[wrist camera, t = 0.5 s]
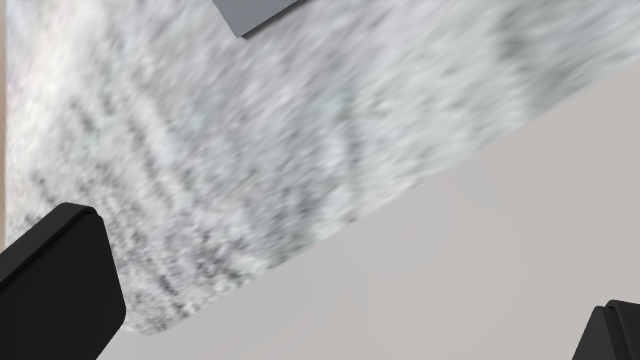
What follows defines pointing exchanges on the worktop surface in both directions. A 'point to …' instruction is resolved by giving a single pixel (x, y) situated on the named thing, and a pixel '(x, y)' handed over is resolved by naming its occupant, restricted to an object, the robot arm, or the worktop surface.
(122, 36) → the worktop surface
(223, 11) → the mat
